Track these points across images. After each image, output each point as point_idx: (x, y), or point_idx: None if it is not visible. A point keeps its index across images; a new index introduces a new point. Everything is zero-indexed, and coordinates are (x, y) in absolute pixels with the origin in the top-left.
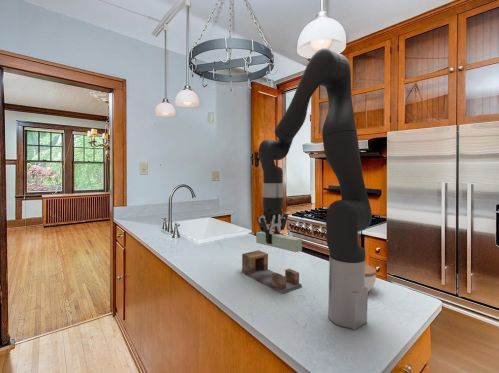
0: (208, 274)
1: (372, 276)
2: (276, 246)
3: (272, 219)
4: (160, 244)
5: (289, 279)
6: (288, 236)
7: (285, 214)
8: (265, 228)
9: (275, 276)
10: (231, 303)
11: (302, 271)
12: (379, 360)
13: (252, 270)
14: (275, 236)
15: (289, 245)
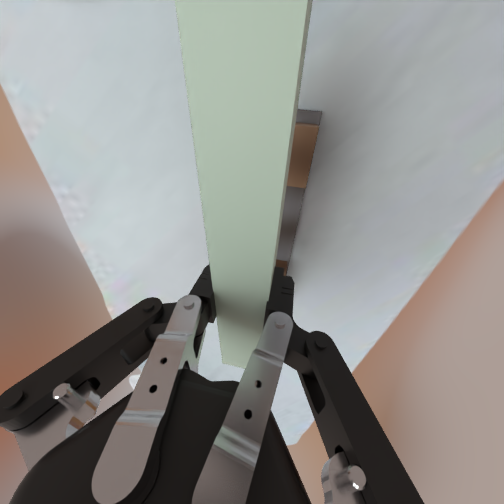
0: (345, 323)
1: None
2: (280, 228)
3: (254, 453)
4: (293, 424)
5: None
6: (208, 191)
7: (8, 429)
8: (339, 373)
9: (309, 166)
10: (481, 185)
11: (150, 186)
12: None
13: (282, 266)
14: (271, 273)
15: (298, 93)
